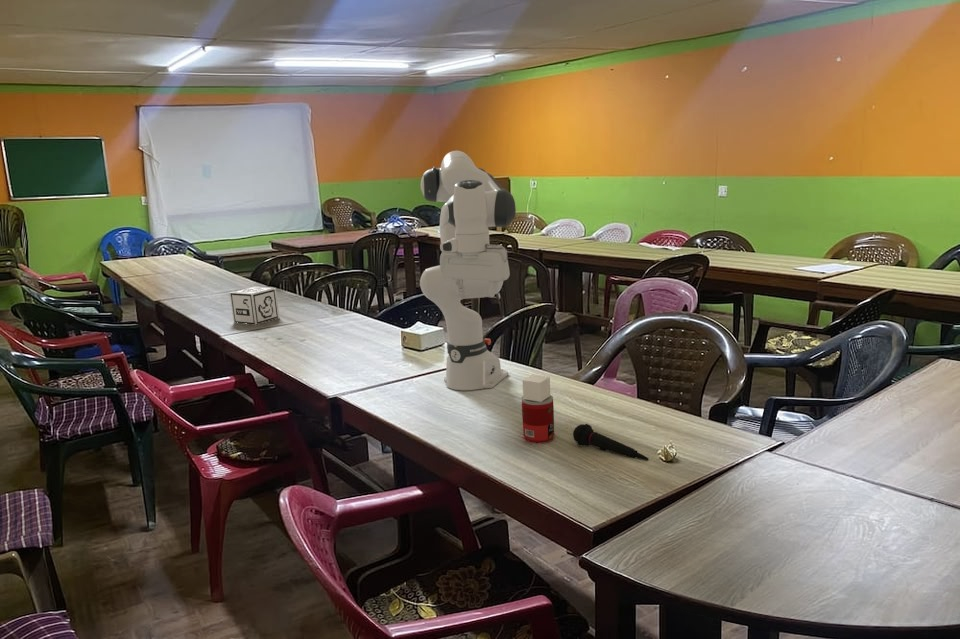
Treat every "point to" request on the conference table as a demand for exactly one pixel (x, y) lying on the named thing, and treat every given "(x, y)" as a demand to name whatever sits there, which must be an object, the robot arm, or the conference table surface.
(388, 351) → the conference table surface
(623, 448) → the microphone
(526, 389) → the cream cube
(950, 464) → the conference table surface
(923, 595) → the conference table surface
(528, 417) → the canned food
